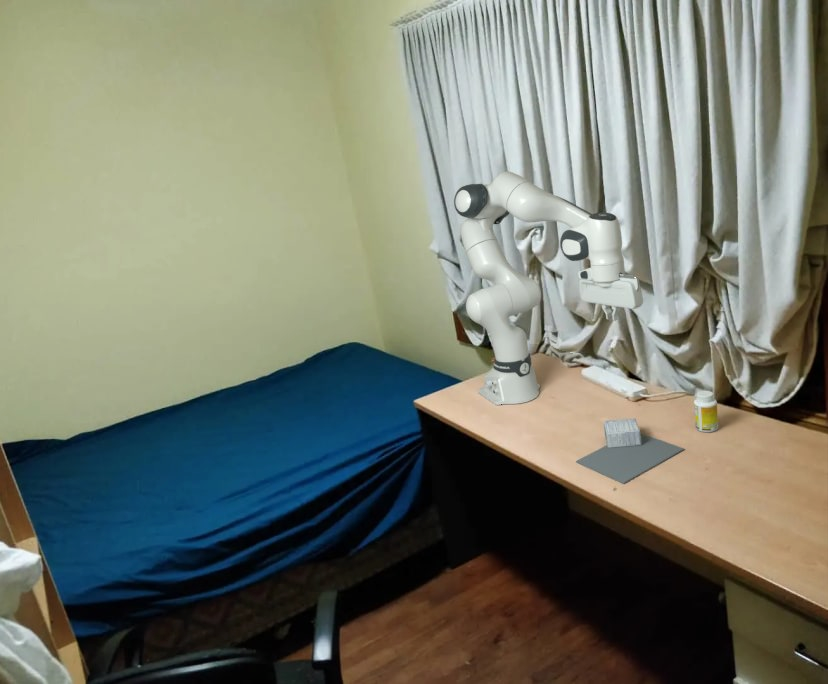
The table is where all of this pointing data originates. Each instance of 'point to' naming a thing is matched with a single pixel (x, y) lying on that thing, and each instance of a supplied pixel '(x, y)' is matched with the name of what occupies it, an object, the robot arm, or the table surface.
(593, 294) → the robot arm
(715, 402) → the supplement bottle
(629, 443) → the medicine box
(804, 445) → the table surface
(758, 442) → the table surface
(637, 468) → the mat
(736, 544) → the table surface
